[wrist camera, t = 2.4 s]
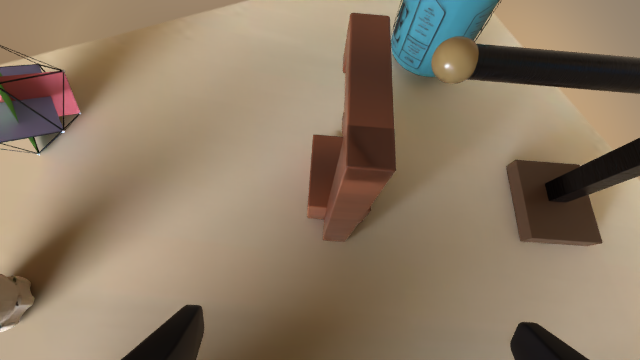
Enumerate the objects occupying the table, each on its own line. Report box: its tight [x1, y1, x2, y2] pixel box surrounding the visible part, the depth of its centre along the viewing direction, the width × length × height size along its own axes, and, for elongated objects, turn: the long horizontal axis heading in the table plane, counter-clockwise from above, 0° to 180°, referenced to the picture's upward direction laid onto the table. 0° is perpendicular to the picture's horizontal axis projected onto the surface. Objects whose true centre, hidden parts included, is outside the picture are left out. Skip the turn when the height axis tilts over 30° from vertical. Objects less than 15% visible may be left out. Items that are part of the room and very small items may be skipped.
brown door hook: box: [307, 13, 396, 242], centre depth 16 cm, size 7×4×12 cm, turn 177°
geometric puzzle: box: [0, 46, 82, 155], centre depth 20 cm, size 7×7×8 cm
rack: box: [431, 36, 640, 246], centre depth 16 cm, size 6×16×14 cm, turn 87°
